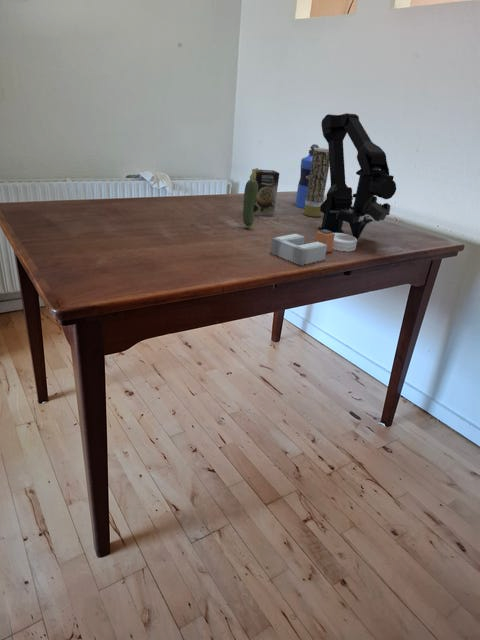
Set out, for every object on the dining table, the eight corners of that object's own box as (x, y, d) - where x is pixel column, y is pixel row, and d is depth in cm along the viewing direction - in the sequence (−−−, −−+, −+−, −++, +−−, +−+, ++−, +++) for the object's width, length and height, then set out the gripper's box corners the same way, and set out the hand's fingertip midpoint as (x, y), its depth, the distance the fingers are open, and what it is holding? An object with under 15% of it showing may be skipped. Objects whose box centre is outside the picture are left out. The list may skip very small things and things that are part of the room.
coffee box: (252, 215, 172) (256, 171, 165) (247, 211, 177) (251, 168, 170) (274, 216, 174) (280, 172, 167) (269, 211, 180) (274, 169, 173)
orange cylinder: (313, 249, 140) (316, 229, 137) (321, 247, 143) (324, 228, 140) (323, 252, 138) (327, 233, 135) (331, 251, 140) (335, 231, 137)
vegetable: (238, 227, 155) (244, 167, 146) (244, 225, 158) (250, 165, 149) (250, 230, 153) (256, 169, 144) (256, 228, 157) (262, 167, 148)
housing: (270, 253, 133) (272, 237, 131) (294, 248, 140) (296, 232, 138) (300, 265, 126) (303, 249, 124) (324, 259, 132) (327, 244, 130)
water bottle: (291, 203, 198) (300, 142, 186) (310, 203, 201) (320, 143, 189) (300, 208, 190) (309, 145, 179) (320, 209, 193) (330, 146, 181)
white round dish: (356, 245, 149) (358, 235, 148) (354, 254, 141) (357, 243, 139) (325, 240, 151) (327, 230, 150) (322, 249, 143) (324, 238, 141)
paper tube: (321, 218, 178) (333, 151, 167) (304, 216, 178) (315, 149, 167) (319, 214, 184) (330, 149, 173) (302, 212, 184) (312, 147, 173)
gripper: (371, 199, 132) (359, 251, 139) (403, 195, 144) (391, 242, 151) (340, 191, 139) (331, 240, 146) (373, 188, 151) (363, 233, 158)
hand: (355, 239), depth 150 cm, fingers closed
